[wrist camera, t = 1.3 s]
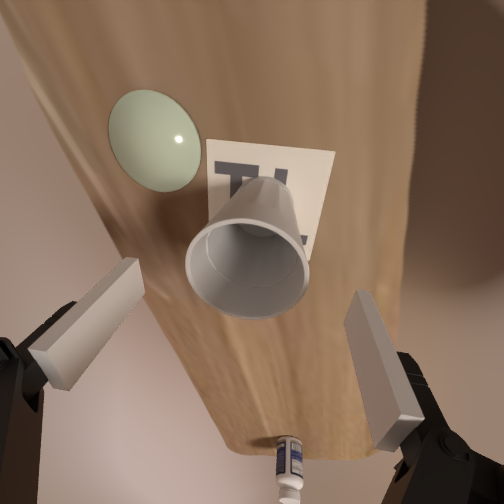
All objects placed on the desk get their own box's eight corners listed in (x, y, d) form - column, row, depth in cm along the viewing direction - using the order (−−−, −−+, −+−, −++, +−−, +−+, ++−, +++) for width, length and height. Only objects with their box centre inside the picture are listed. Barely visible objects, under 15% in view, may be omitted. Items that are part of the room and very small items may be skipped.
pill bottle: (279, 445, 56) (277, 505, 48) (275, 434, 53) (272, 495, 45) (303, 447, 55) (305, 508, 46) (300, 435, 52) (302, 498, 44)
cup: (270, 251, 28) (259, 335, 18) (213, 212, 27) (165, 281, 17) (318, 199, 24) (338, 270, 14) (253, 149, 23) (224, 190, 13)
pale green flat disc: (101, 86, 22) (97, 85, 21) (199, 94, 21) (197, 94, 21) (123, 185, 27) (120, 187, 26) (203, 194, 26) (201, 196, 25)
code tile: (207, 138, 23) (206, 139, 23) (334, 150, 22) (335, 151, 22) (210, 245, 30) (209, 247, 29) (309, 258, 29) (309, 260, 28)
